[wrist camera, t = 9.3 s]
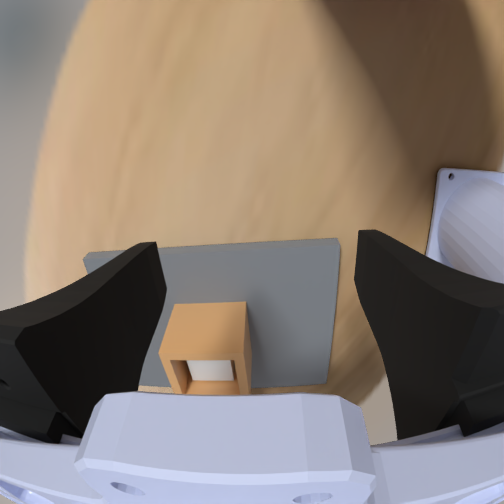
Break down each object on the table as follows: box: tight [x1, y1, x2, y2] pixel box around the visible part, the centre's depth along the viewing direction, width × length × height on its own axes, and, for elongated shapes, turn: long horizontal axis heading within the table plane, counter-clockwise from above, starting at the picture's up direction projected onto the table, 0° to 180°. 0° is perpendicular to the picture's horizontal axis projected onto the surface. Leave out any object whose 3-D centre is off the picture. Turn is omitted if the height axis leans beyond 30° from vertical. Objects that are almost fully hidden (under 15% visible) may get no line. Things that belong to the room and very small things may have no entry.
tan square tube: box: [158, 302, 252, 395], centre depth 23 cm, size 9×5×5 cm, turn 4°
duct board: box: [83, 238, 340, 388], centre depth 23 cm, size 18×14×4 cm
